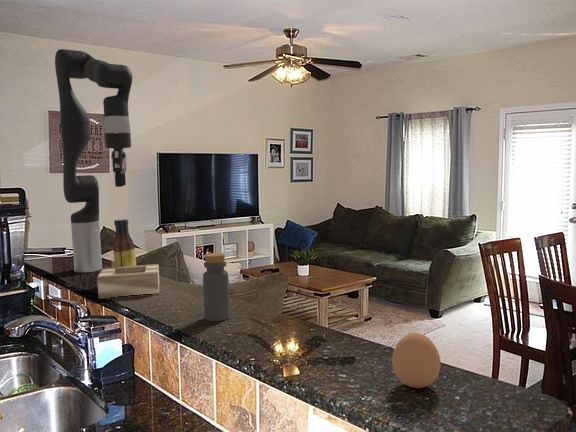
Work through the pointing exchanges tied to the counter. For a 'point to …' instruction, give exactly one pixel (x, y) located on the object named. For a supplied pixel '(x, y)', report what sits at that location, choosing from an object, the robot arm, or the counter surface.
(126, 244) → the sauce bottle
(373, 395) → the counter surface
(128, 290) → the dock block
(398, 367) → the egg
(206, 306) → the bottle
